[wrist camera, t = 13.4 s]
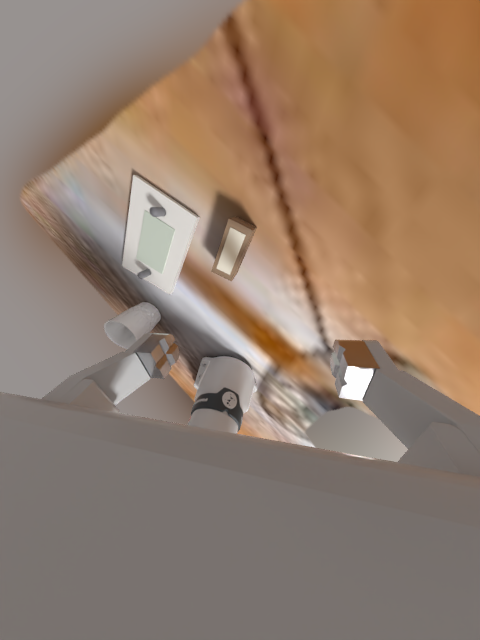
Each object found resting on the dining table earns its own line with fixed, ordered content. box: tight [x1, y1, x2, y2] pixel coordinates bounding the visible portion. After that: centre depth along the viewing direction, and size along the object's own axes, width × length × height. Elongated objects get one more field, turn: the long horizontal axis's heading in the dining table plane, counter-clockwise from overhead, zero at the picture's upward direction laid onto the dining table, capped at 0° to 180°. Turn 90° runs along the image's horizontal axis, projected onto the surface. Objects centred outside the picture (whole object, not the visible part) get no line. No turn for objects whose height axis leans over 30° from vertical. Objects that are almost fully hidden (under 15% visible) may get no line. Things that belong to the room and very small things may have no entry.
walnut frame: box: [212, 217, 257, 281], centre depth 30 cm, size 9×4×5 cm, turn 157°
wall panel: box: [122, 175, 200, 295], centre depth 34 cm, size 18×12×4 cm, turn 150°
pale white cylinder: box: [104, 302, 161, 349], centre depth 42 cm, size 8×8×10 cm
